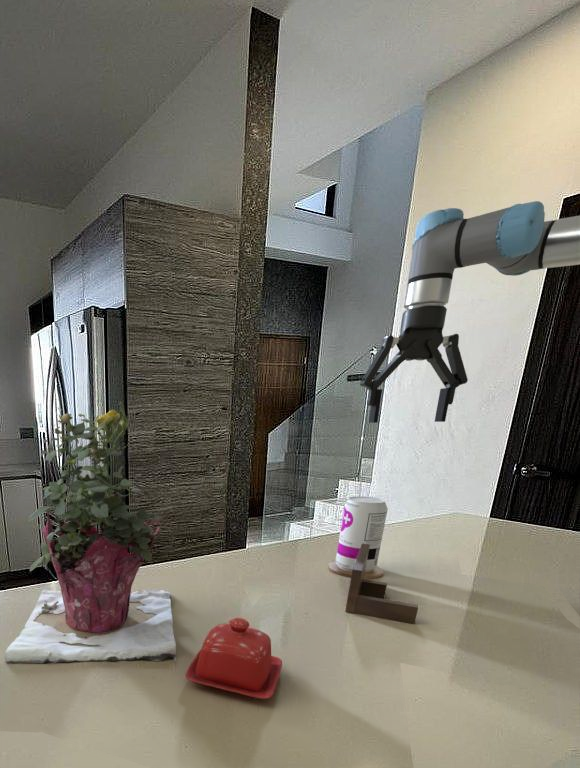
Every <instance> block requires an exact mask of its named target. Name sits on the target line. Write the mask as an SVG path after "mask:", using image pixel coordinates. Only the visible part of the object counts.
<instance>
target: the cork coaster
mask: <svg viewBox="0 0 580 768" xmlns="http://www.w3.org/2000/svg"><path fill="white" fill-rule="evenodd" d="M327 569H328V570H329V571H330V572H332V573H334V574H336V575H339V576H342V577H346V578H351V576H352V572H351V571H346V570H343V569H341V568H340V567H338V565H337V564H336V560H333V561H331V562H329V563H328V566H327ZM383 574H384V570H383V568H381V567H380V566H378V565H377V567H376V568H375V569H373V570H372V571H371V572H365V575H364V579H366V580H372V579H377V578H380V577H381V576H382V577H383Z"/></svg>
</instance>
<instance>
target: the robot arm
mask: <svg viewBox="0 0 580 768" xmlns="http://www.w3.org/2000/svg"><path fill="white" fill-rule="evenodd" d="M545 217H546V212H545V206H544V204H543V202H541V201H539V200H535V201H530V202H525V203H524V202H523V203H515V204H514V205H511V206H509V207H504V208H501V209H498V210H494V211H491V212H487V213H484V214H479V215H476V216H473V217H469V218H464V211H463V210H462V209H461V208H458V207H457V208H456V207H449V208H445V209H438V210H433V211H432V212H429V213H427V214H424V216H422V217H421V219H419V221H418V222H417V225H416V230H415V234H414V239H413V243H412V245H411V247H412V248H411V256H410V262H409V263H410V264H409V271H408V278H407V285H406V291H405V297H404V303H403V308H404V309H405V311H404V312H402V315H401V323H400V329H399V335H398V337H396V336H395V337H394V335H391V334H390V335H388V336H385V337H383V338H382V340H381V344H380V348H379V350H378V352H377V354H376V355H375V357H374V358H373V360H372V362H371V364H370V365H369V366H368V368H367V370H366V372H365V374H364V375H363V377H362V378H361V380H360V382H359V386H360V387H363V388H366V389H367V390H368V391H367V392H368V393H367V399H366V405H367V407H370V408H369V409H370V411H369V417H368V424H369V423H370V424H371V423H372V424H375V423H378V421H379V415H380V409H381V402H382V394H383V389H382V388H380V386H381V385H383V383H384V382H385V381H386V380H387V379H388V378H389V377H390V376H391V374H392V373H394V372H395V370H396V369H397V368H398V367H399V366H400V365H401V364H402V363H404V361H406V362H410V361H427V363H429V364H430V365H431V367H432V369H433V370H434V372H435V373H436V375H437V376H438V378H439V380H440V381H441V383H442V384H443V386H444V387H443V388H440V389H439V395H438V399H437V406H436V412H435V417H434V423H436V422H437V423H444V422H446V419H447V413H448V409H449V405H452V404H453V403H454V398H455V393H456V389H457V388H458V387H459V386H461V385H465V384H467V383H468V381H469V380H468V379H469V378H468V375H467V372H466V368H465V364H464V362H463V358H462V353H461V350H460V347H459V342H460V341H459V339H460V334H458V333H453V334H450V335H446V336H444V335H443V330H444V327H445V322H446V317H447V312H448V311H447V310H448V309H447V307H446V305H448V303H449V301H450V293H451V289H452V283H453V278H454V277H453V276H454V272H455V269H461V268H465V267H470V266H475V265H480V264H486V265H489V266H490V267H493V268H494V269H495V270H496V271H498V273H500V274H501V275H504V276H512V277H516V276H522V275H524V274H526V273H529V272H530V271H538V270H542V269H543V270H544V269H551V268H561V267H569V266H579V265H580V215H575V216H569V217H563V218H562V217H561V218H558V219H554V220H546V221H545ZM441 345H442V346H443V348H444V350H445V351H444V352H445V355H446V358H447V361H448V365H449V366H448V365H447V363H446V362H445V360H444V358H443V355H442V352H441V351H440V349H439V347H440V346H441ZM395 346H396V347H397V349H398V352H397V353H396V354H395V355H394V356H393V358H392V359H391V361H390V362H388V364H387V365H386V366H385V367H383V369H382V370H381V371H380V372H379V373H378V371H379V370H380V368H381V367H382V365H383V364H384V362H385V360H386V358H387V357H388V355H389V354H390V352H391V349H393V348H395ZM377 373H378V374H377ZM376 375H377V376H376Z"/></svg>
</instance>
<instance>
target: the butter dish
mask: <svg viewBox="0 0 580 768" xmlns="http://www.w3.org/2000/svg"><path fill="white" fill-rule="evenodd" d="M282 666H283V661H282V659H281V658H280V657H278V656H274V655H272V641H271V637H270V636H269V635H268V634H267V633H265V632H264V631H261V630H259V629H256V628H253V627H250V622H249V621H248V620H247V619H245V618H242V617H235V618H231V619H230V620H229V623H220V624H217V625H214V627H213V628H211V630H210V631H209V632H208V633H207V635H206V637H205V639H204V640H203V643H202V647H201V648H200V650H199V651H198V652H197V654H195V657H194V658H193V659H192V661H191V663H190V665H189V666H188V667H187V670H186V671H185V673H184V678H185V679H186V680H187V681H190V682H192V683H195V684H199V685H204V686H207V687H211V688H216V689H220V690H224V691H227V692H228V691H229V692H232V693H235V694H240V695H244V696H247V697H252V698H255V699H262V700H269V699H271V698H272V697H273V696H274V693H275V690H276V688H277V684H278V682H279V678H280V674H281V671H282Z"/></svg>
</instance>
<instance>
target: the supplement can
mask: <svg viewBox="0 0 580 768" xmlns="http://www.w3.org/2000/svg"><path fill="white" fill-rule="evenodd" d="M387 514H388V506H387V503H386V500H385V499H384V498H383V499H382V498H379V497H372V496H350V497H348V500H347V501H346V502H345V504H344V505H343V513H342V519H341V524H340V531H339V538H338V544H337V550H336V554H335V555H336V556H335V561H336V564H337V565H338V567H340V568H341V569H343V570H346V571H351V572H352V570H353V567H354V564H355V561H356V559H357V556H358V553H359V550H360V548H361V545H362V544H369V545H370V548H369V553H368V558H367V564H366V569H365V572H371V571H372V570H373V569H375V568H376V567H377V566H378V561H379V556H380V550H381V545H382V541H383V536H384V530H385V525H386V520H387Z"/></svg>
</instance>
